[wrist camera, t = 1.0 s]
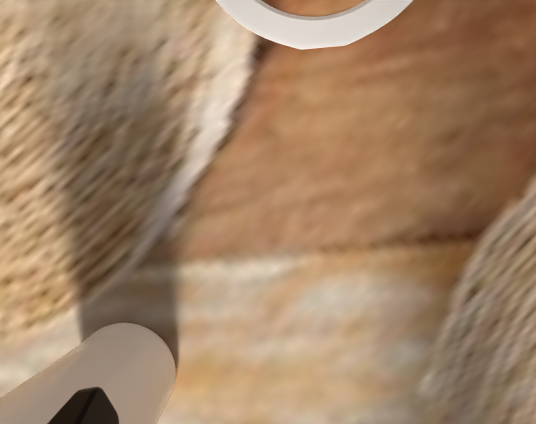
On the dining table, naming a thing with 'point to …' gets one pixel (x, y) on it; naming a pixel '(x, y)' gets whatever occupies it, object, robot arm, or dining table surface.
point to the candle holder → (313, 22)
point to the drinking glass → (100, 378)
